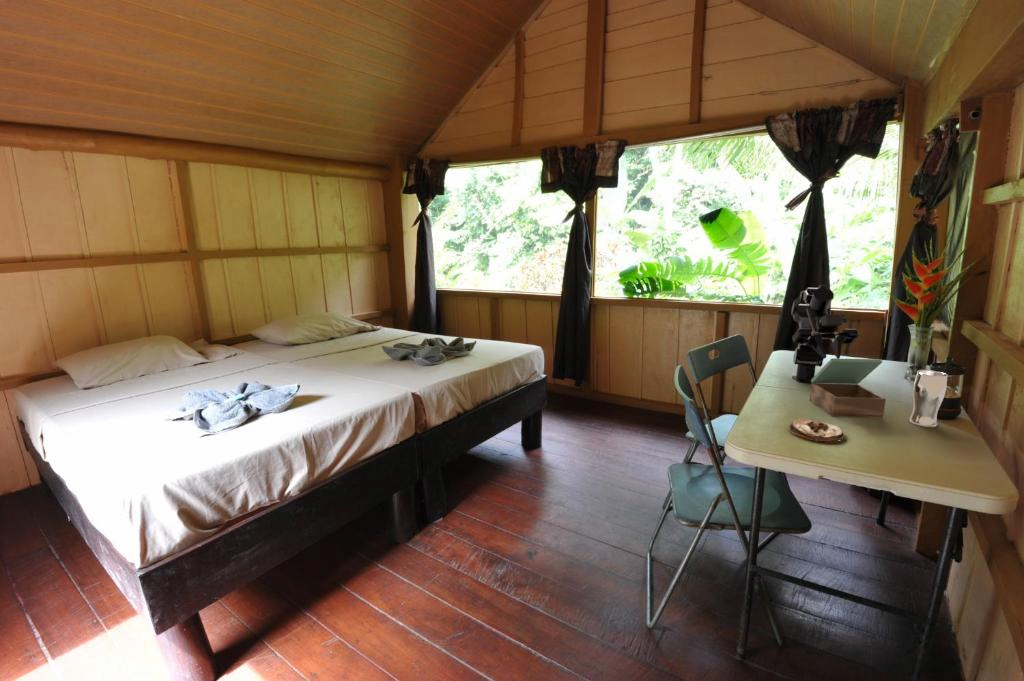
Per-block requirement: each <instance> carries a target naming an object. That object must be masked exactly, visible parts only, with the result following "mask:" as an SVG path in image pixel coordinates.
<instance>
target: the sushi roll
mask: <svg viewBox="0 0 1024 681" xmlns="http://www.w3.org/2000/svg"><path fill="white" fill-rule="evenodd" d="M789 426H790V427H789V431H790V430H791V431H792V432H793V433H795V434H797V435H799V436H801V437H800V438H802V437H804V438H807V439H806V440H807V441H812V440H817V441H816V442H818V441H826V442H835V441H838V440H842V441H843V436H844V431H843V429H842V428H841V427H839V426H838V425H835V424H832V423H829V422H823V421H819V420H816V419H811V418H799V419H795V420H794V421H793V422H792V423H790V425H789ZM791 431H790V432H791ZM792 432H791V433H792ZM793 433H792V434H793ZM795 434H794V435H795ZM799 436H798V437H799ZM804 438H803V439H804ZM809 439H810V440H809ZM826 442H825V443H826ZM835 443H836V442H835Z"/></svg>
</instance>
